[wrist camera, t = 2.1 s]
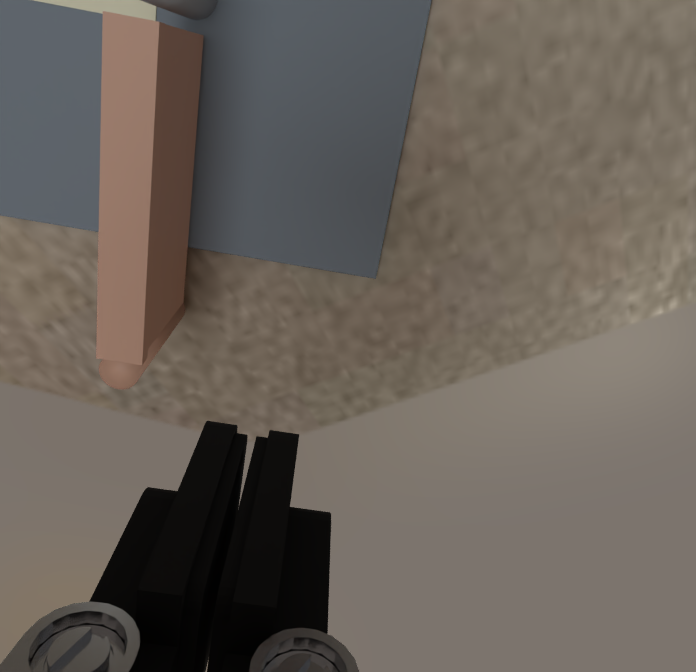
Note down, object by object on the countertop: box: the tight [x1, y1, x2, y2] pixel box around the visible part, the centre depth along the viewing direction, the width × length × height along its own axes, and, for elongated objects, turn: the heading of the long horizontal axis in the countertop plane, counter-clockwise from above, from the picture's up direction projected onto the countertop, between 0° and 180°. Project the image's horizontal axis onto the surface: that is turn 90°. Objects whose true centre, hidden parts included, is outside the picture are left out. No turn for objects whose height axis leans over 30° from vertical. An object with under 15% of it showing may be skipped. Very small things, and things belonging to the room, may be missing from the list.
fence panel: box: [96, 11, 204, 389], centre depth 23 cm, size 12×2×7 cm, turn 170°
